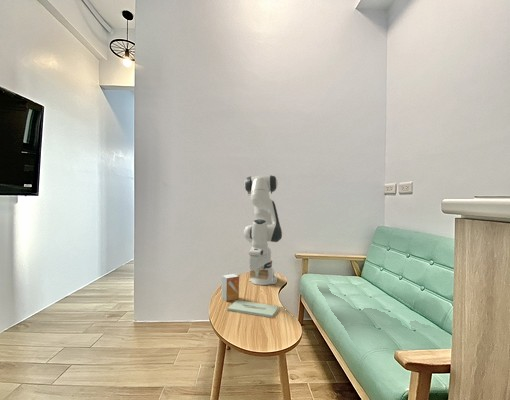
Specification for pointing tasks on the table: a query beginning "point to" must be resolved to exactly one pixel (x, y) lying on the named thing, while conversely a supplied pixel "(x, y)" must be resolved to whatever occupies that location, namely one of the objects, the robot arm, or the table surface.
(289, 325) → the table surface
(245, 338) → the table surface
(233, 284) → the small box
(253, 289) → the table surface
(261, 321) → the table surface
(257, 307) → the board
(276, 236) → the robot arm
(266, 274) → the block
